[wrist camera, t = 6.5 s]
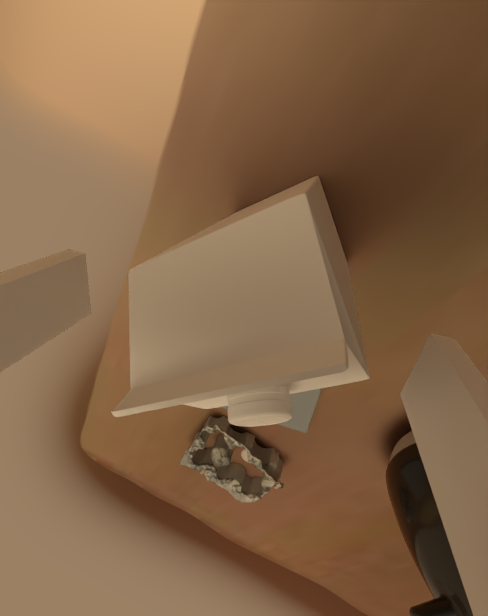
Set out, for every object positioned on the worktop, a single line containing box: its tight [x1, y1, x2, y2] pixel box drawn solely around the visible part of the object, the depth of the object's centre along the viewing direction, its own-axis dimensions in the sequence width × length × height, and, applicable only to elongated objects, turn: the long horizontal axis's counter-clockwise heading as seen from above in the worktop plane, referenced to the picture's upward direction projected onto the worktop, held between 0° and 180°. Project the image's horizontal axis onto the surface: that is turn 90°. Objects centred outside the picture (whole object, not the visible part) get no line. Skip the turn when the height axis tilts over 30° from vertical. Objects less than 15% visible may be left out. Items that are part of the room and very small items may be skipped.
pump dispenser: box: [386, 431, 473, 616], centre depth 23 cm, size 10×10×15 cm
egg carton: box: [180, 416, 284, 502], centre depth 35 cm, size 11×8×4 cm
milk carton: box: [112, 176, 370, 427], centre depth 16 cm, size 7×7×19 cm
